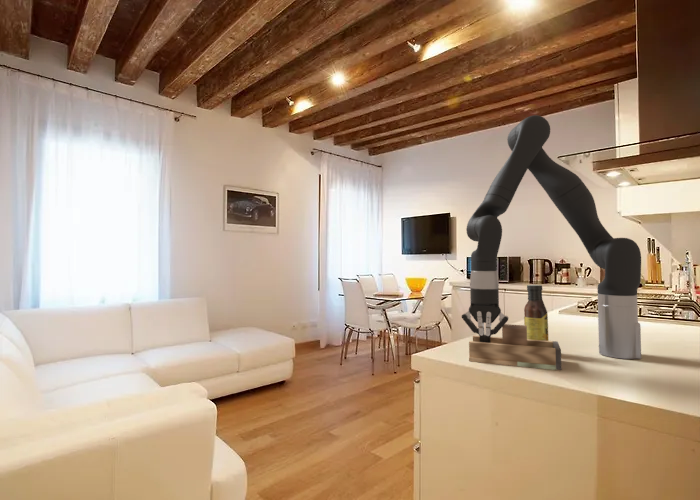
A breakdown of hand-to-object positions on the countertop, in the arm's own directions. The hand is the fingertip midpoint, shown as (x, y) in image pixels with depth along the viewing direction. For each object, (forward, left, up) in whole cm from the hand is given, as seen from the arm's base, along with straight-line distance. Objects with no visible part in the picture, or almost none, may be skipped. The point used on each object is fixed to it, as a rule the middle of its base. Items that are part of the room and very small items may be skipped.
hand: (485, 348), depth 105 cm
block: (-8, 0, -1) cm, 8 cm away
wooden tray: (-7, 0, -3) cm, 8 cm away
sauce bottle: (-13, -11, -3) cm, 17 cm away
